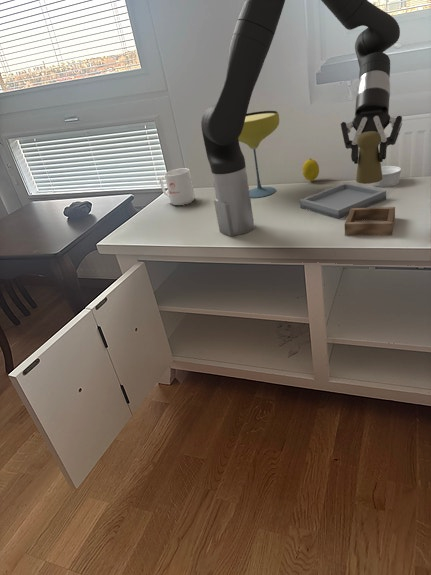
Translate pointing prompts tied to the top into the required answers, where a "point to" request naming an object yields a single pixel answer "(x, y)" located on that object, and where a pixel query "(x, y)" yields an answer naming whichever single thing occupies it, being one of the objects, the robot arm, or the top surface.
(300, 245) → the top surface
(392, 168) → the ramekin
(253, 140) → the cocktail glass
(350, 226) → the walnut holder
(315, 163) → the lemon
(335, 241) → the top surface
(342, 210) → the grey tray
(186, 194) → the mug
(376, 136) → the cork
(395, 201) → the top surface
